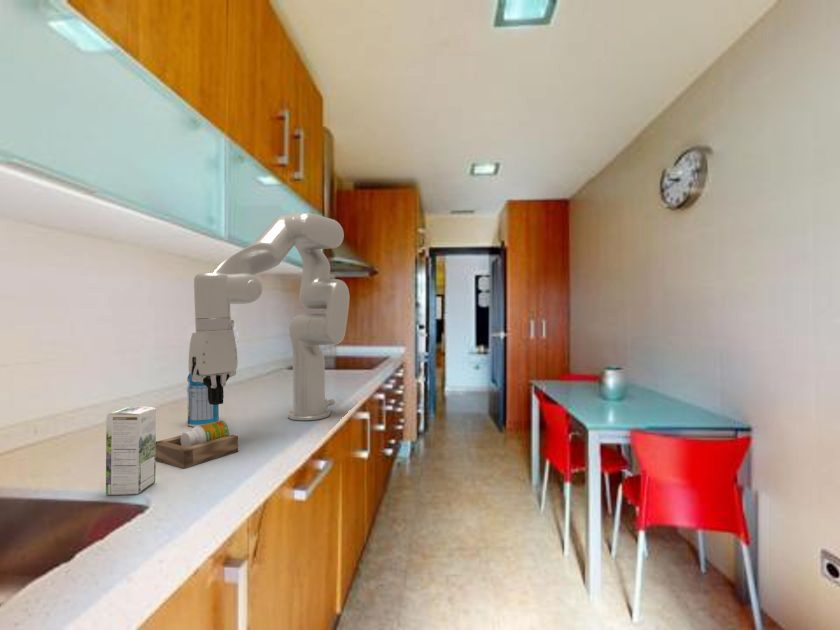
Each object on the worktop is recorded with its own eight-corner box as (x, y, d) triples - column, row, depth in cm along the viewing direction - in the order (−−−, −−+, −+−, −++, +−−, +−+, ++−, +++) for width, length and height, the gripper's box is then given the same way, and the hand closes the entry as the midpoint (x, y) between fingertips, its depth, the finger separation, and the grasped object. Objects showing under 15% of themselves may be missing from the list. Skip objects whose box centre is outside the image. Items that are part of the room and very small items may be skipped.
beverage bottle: (196, 429, 123) (195, 356, 123) (181, 424, 128) (180, 355, 128) (225, 423, 130) (224, 354, 130) (210, 419, 135) (209, 353, 135)
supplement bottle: (234, 435, 106) (195, 446, 97) (222, 446, 108) (184, 458, 100) (225, 415, 107) (186, 424, 99) (214, 427, 110) (175, 436, 101)
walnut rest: (205, 444, 109) (205, 429, 109) (238, 451, 103) (238, 435, 103) (151, 459, 98) (151, 442, 98) (183, 468, 92) (183, 451, 92)
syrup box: (124, 483, 84) (123, 406, 84) (157, 482, 84) (156, 405, 84) (105, 496, 78) (104, 413, 78) (140, 494, 79) (139, 412, 79)
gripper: (230, 324, 113) (233, 396, 113) (172, 327, 100) (175, 409, 100) (250, 324, 109) (253, 399, 109) (192, 328, 96) (195, 412, 97)
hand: (216, 403), depth 105 cm, fingers closed
